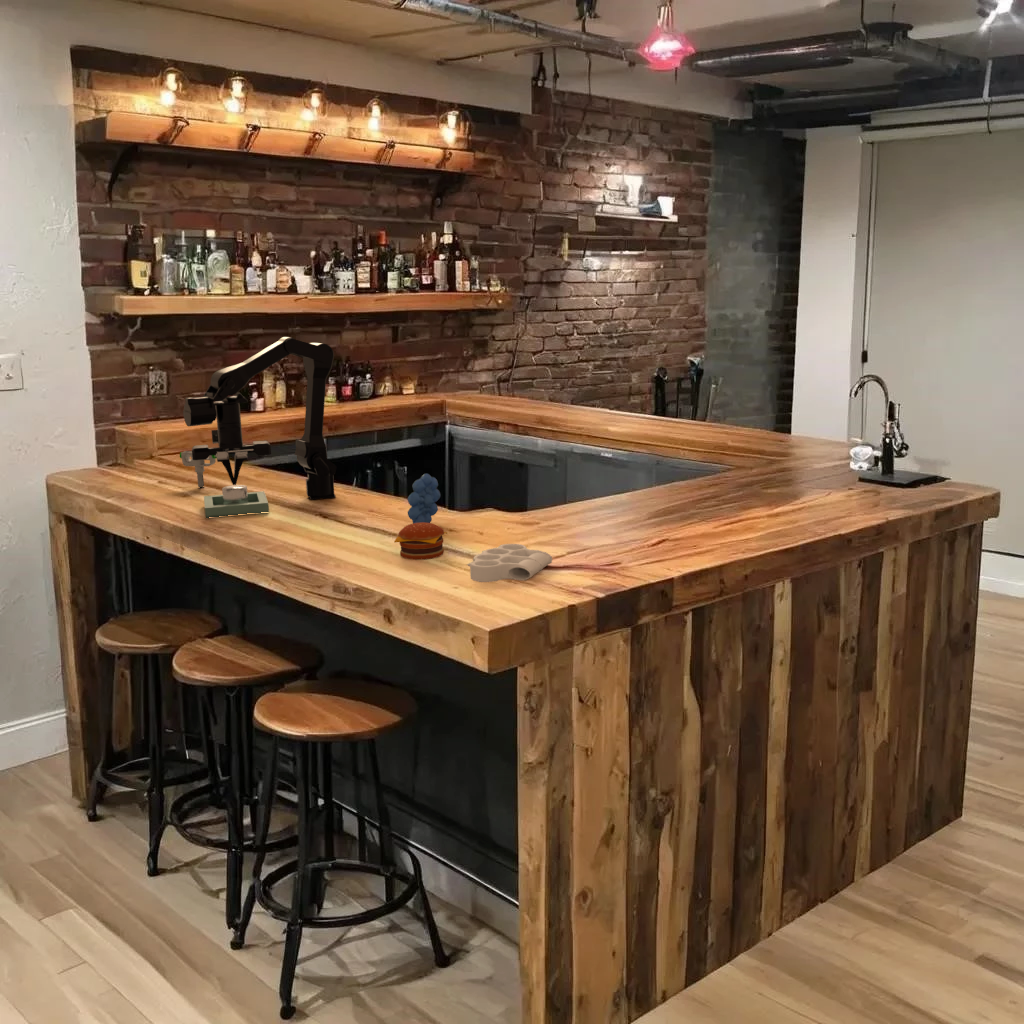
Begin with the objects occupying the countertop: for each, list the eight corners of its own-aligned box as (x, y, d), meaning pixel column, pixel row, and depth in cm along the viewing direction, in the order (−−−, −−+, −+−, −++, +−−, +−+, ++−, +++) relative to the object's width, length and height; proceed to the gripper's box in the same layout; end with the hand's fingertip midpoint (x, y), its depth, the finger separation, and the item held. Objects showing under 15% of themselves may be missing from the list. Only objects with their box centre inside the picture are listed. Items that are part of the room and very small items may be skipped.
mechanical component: (216, 489, 308) (212, 452, 306) (181, 488, 310) (178, 452, 308) (220, 486, 311) (217, 450, 308) (186, 486, 313) (183, 450, 310)
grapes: (423, 519, 265) (421, 468, 263) (447, 521, 262) (445, 470, 259) (395, 529, 255) (392, 477, 253) (419, 532, 252) (417, 480, 250)
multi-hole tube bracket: (524, 587, 210) (453, 581, 215) (558, 563, 226) (491, 557, 231) (523, 570, 209) (452, 564, 214) (557, 546, 225) (490, 541, 231)
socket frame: (264, 501, 290) (264, 491, 290) (269, 513, 276) (268, 502, 276) (204, 506, 286) (203, 496, 286) (205, 518, 272) (204, 508, 272)
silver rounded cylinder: (248, 503, 285) (246, 484, 284) (249, 508, 279) (247, 488, 278) (223, 505, 283) (221, 486, 282) (224, 510, 278) (222, 490, 276)
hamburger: (394, 560, 230) (392, 528, 229) (407, 548, 239) (406, 518, 238) (438, 561, 228) (436, 529, 227) (450, 549, 237) (449, 518, 236)
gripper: (265, 415, 286) (270, 475, 290) (189, 420, 282) (195, 481, 285) (268, 421, 276) (273, 483, 279) (189, 426, 271) (195, 490, 275)
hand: (234, 484), depth 280 cm, fingers closed
